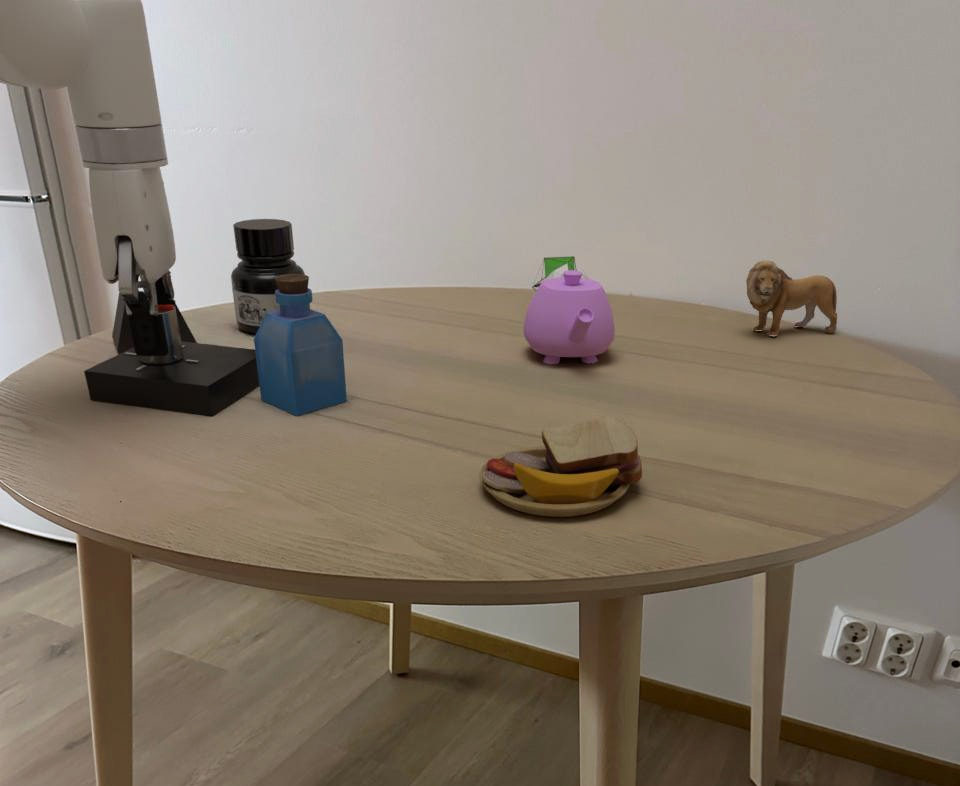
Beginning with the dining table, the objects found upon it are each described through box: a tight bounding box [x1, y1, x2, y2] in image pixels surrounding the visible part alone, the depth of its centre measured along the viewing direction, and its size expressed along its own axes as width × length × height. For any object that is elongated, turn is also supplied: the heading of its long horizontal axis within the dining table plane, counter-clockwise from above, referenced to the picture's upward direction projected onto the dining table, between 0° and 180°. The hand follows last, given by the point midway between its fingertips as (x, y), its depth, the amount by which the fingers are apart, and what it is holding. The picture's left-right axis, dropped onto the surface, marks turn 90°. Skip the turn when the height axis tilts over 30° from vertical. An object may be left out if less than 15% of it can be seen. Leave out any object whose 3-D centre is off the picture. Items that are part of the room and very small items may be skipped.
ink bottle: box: [230, 218, 306, 335], centre depth 113 cm, size 10×9×12 cm
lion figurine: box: [746, 259, 838, 336], centre depth 115 cm, size 15×5×9 cm, turn 112°
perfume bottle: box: [253, 274, 348, 417], centre depth 91 cm, size 6×6×12 cm
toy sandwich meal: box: [478, 415, 643, 518], centre depth 76 cm, size 12×14×5 cm
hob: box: [83, 341, 260, 417], centre depth 96 cm, size 14×12×3 cm
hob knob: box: [139, 303, 183, 364], centre depth 94 cm, size 4×4×5 cm
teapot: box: [523, 269, 616, 365], centre depth 105 cm, size 10×15×9 cm
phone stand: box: [111, 275, 198, 355], centre depth 107 cm, size 9×6×12 cm, turn 113°
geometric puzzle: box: [531, 255, 589, 292], centre depth 124 cm, size 7×7×8 cm
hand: (159, 345), depth 95 cm, fingers closed on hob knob, 4 cm apart
